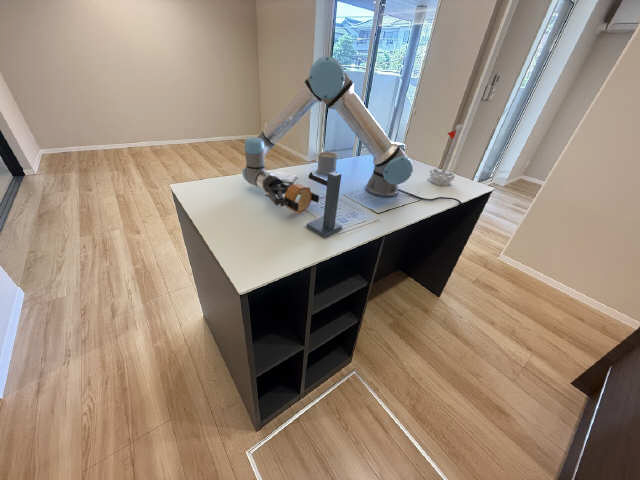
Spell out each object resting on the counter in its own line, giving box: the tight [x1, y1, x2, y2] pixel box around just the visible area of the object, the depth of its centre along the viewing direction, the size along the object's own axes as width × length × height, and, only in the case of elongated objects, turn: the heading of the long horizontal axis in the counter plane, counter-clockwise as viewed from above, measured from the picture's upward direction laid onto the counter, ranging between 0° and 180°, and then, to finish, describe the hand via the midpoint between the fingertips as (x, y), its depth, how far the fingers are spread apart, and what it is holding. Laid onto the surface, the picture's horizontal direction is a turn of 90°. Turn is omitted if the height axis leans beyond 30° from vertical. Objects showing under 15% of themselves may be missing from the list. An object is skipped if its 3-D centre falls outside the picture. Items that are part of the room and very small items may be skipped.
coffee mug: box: [317, 151, 338, 177], centre depth 137 cm, size 13×10×10 cm
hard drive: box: [270, 170, 298, 184], centre depth 126 cm, size 2×8×12 cm
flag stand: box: [428, 124, 463, 187], centre depth 133 cm, size 13×13×30 cm
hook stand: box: [306, 171, 343, 239], centre depth 86 cm, size 9×13×21 cm
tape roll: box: [283, 182, 313, 214], centre depth 94 cm, size 10×5×10 cm, turn 137°
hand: (308, 203), depth 91 cm, fingers closed on tape roll, 10 cm apart
